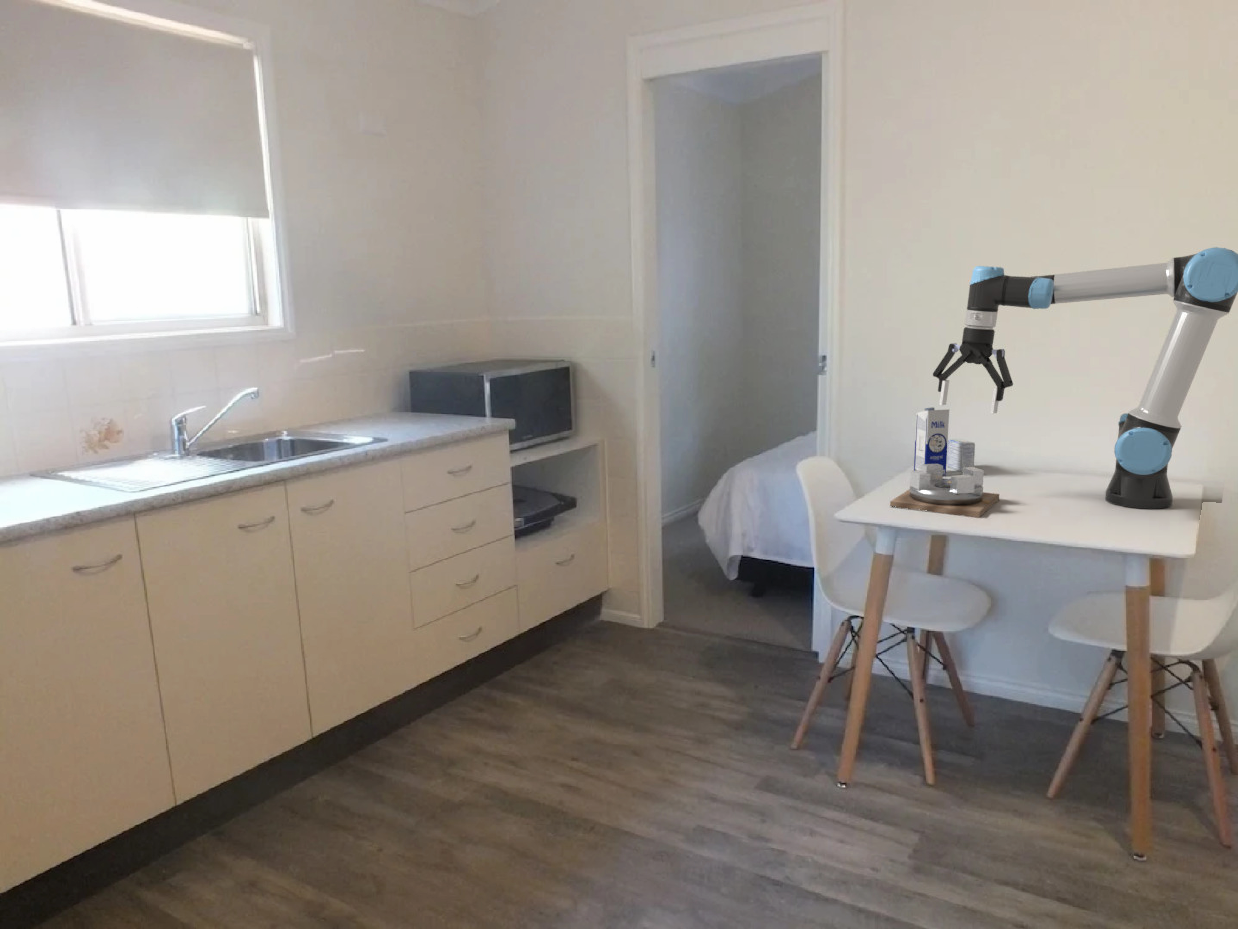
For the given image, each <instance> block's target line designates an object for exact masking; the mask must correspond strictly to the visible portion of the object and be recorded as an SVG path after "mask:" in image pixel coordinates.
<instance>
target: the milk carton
mask: <svg viewBox="0 0 1238 929" xmlns="http://www.w3.org/2000/svg"><path fill="white" fill-rule="evenodd" d="M915 414H916V415H915V436H914V437H915V438H914V440H915V441H914V458H913V459H914V460H913V471H915V470H921V465H923V464H940V465H943V476H946V475H947V454H948V440H949V421H950V420H949V419H950V409H936V408H935V407H925V408H924V410H923V411H919V412H916V413H915Z"/></svg>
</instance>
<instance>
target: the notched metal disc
mask: <svg viewBox="0 0 1238 929" xmlns="http://www.w3.org/2000/svg"><path fill="white" fill-rule="evenodd" d="M909 472H910V473H909V474H910V475H909V489H910V497H911V498H913V499H915V500H918V501H921V502H926V503H932V504H941V505H968V504H975V503H978V502H981V501H982V499H983V492H984V486H983V485H984V474H985V473H984V472H985V471H984V469H980V468H977V467H975V466H974V467H964V468H963V471H962V474H958V475H951V476H950V478H943V476H944V475H943V465H940V464H923V465H921V470H915V471H914V470H910V471H909Z"/></svg>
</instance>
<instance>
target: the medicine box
mask: <svg viewBox="0 0 1238 929" xmlns="http://www.w3.org/2000/svg"><path fill="white" fill-rule="evenodd" d="M975 447H976V443H975V442H973V441H969V440H965V439H962V438H955V439H953V438H952V439H948V443H947V463H946V467H947V466H948V467H947V468H950V469H953V470H957V471H958V472H959V471H960V472H963V468H964V467H975V457H976V456H975V452H976V450H975V449H976V448H975Z"/></svg>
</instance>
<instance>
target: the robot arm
mask: <svg viewBox="0 0 1238 929" xmlns="http://www.w3.org/2000/svg"><path fill="white" fill-rule="evenodd" d="M1158 295H1159V296H1160V295H1169V296H1170V297H1171V298H1173V299H1172V303H1173V305H1174V306H1175V308H1176V311H1175V314H1174V316H1173V319H1172V322H1171V324H1170V326H1169V329H1168V331H1167V333H1166V334H1167V335H1166V337H1165V339H1164V342H1163V344H1162V346H1161V349H1160V351H1159V354H1158V355H1157V356H1158V357H1157V360H1156V361H1155V365H1154V366H1153V369H1152V371H1151V374H1150V376H1149V379H1148V381H1147V384H1146V387H1145V388H1144V392H1143V395H1142V397H1141V399H1140V402H1139V404H1138V406H1136V407H1135V408H1133V409H1130V410H1129V411H1128V413H1127V412H1126V413H1122V414H1121V415H1120V416H1119V421H1118V432H1117V434H1118V435H1117V440H1116V442H1115V444H1114V447H1113V448H1114V451H1113V452H1114V456H1115V458H1116V459H1115V468H1114V472H1113V474H1112V477H1111V478H1110V479H1111V480H1110V481H1109V483H1108V486H1107V488H1106V490H1105V497H1104V500H1105V501H1106V502H1108V503H1110V504H1113V505H1117V506H1122V507H1127V508H1135V509H1150V510H1151V509H1165V508H1170V507H1172V506H1173V493H1172V489H1171V486H1170V482H1169V481H1170V480H1169V479H1168V467H1169V462H1170V461H1171V458H1172V453H1173V447H1174V446H1175V443H1176V441H1177V438H1178V436H1179V433H1180V431H1181V429H1182V425H1181V422H1180V420H1179V415H1180V412H1181V410H1182V408H1183V406H1184V403H1185V400H1186V398H1187V396H1188V393H1189V391H1190V389H1191V386H1192V383H1193V380H1194V378H1195V376H1196V375H1197V371H1198V369H1199V367H1200V364H1201V362H1202V360H1203V357H1204V354H1205V352H1206V350H1207V347H1208V345H1209V343H1210V340H1211V338H1212V335H1213V333H1214V330H1215V328H1216V325H1217V323H1218V320H1220V319H1221V318H1223V317H1225V316H1227V315H1229V313H1230V312H1231V309H1232V307H1233V304H1234V302H1235V300H1236V297H1237V295H1238V253H1237V252H1235V251H1233V249H1229V248H1225V247H1217V246H1215V247H1210V248H1206V249H1203V250H1201V251H1199V252H1197V253H1195V254H1194V253H1193V254H1189V255H1184V256H1177V257H1172V258H1170V259H1169V261H1167V262H1161V263H1160V262H1159V263H1152V264H1141V265H1140V264H1139V265H1131V266H1125V267H1124V266H1123V267H1114V268H1113V267H1112V268H1103V269H1095V270H1086V271H1085V270H1084V271H1076V272H1075V271H1074V272H1067V273H1065V272H1064V273H1058V274H1048V275H1046V274H1045V275H1035V276H1014V275H1013V276H1012V275H1008V274H1007V275H1006V274H1005V269H1004V267H1002V266H1000V267H998V266H985V265H977V266H975V267H974V268H973V269H972V273H971V279H970V283H969V291H968V298H967V306H966V312H965V319H964V325H965V327H964V328H963V332H962V341H961V344H957V343H956V342H953V343H950V344H948V349H947V352H945V354H944V356H943V358H942V359H941V361H940V362H939V364H938V365H937V367H936V368H935V369H934V370H933V372H932V376H933V377H935V378H937V379H938V387H937V392H939V393H940V397H939V404H938V405H939V406H945V405H947V401H948V394H949V388H950V387H949V384H950V380H949V379H948V378H949V377H950V376H951V375H952V374H954V372H956V370H958V369H959V368H960V367H961V366H962V365H963V364H965V363H966V364H975V365H982V366H983V367H984V369H985V370H986V371H987V373H988V374H989V377H991V380H992V381H993V383H994V385H995V386H996V387H994V388H993V392H992V397H991V399H992V400H991V403H990V404H991V405H990V411H989V413H990V414H993V415H994V414H997V413H998V409H999V408H998V407H999V402H1001V401H1003V399H1004V393H1005V389H1006V388H1010V387H1011V388H1012V387H1013V385H1014V382H1013V380H1012V377H1011V374H1010V369H1009V367H1008V365H1007V364H1008V363H1007V361H1006V358H1005V355H1006V351H1005V349H1004V348H999V349H994V348H993V345H994V340H995V339H994V338H995V333H996V330H995V329H994V328H995V327H996V325H997V319H998V312H999V307H1000V306H1007V307H1013V308H1015V307H1017V308H1026V309H1033V310H1035V309H1037V310H1039V309H1042V310H1043V309H1044V310H1047V309H1048V308H1049V307H1051V305H1055V304H1056V305H1057V304H1058V305H1059V304H1067V303H1080V302H1089V301H1090V302H1091V301H1101V300H1104V301H1105V300H1110V299H1111V300H1112V299H1122V298H1123V299H1125V298H1137V297H1138V298H1139V297H1147V296H1148V297H1149V296H1158ZM958 351H959V353H960V354H961V355H960V356H959V357H958V358H957V359H956V361H955V362H954V363H952V364H951V365H950V366H948V364H949V363H950V362H951V361H952V359H953V357H954V356H955V354H956V353H957V352H958ZM992 355H993V356H994V358H995V359H996V363H997V366H998V369H999V371H1000V374H999V372H998V371H997V368H995V367H996V366H994V365H993V361H992V360H991V357H992ZM946 367H948V368H947V369H946ZM945 369H946V370H945ZM944 370H945V371H944ZM1000 375H1001V376H1000Z"/></svg>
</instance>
